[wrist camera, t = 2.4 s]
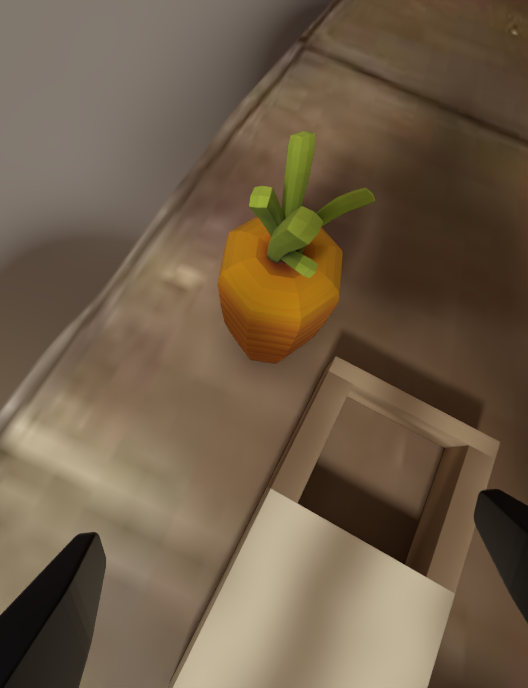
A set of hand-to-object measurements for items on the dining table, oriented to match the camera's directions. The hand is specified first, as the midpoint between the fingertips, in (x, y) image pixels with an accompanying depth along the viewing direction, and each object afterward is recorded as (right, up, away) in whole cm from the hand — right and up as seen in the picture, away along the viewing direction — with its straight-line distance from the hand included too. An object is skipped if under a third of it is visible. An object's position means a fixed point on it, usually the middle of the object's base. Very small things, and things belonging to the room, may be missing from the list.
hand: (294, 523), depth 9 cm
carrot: (-1, +4, +15) cm, 16 cm away
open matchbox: (+3, -7, +12) cm, 14 cm away
